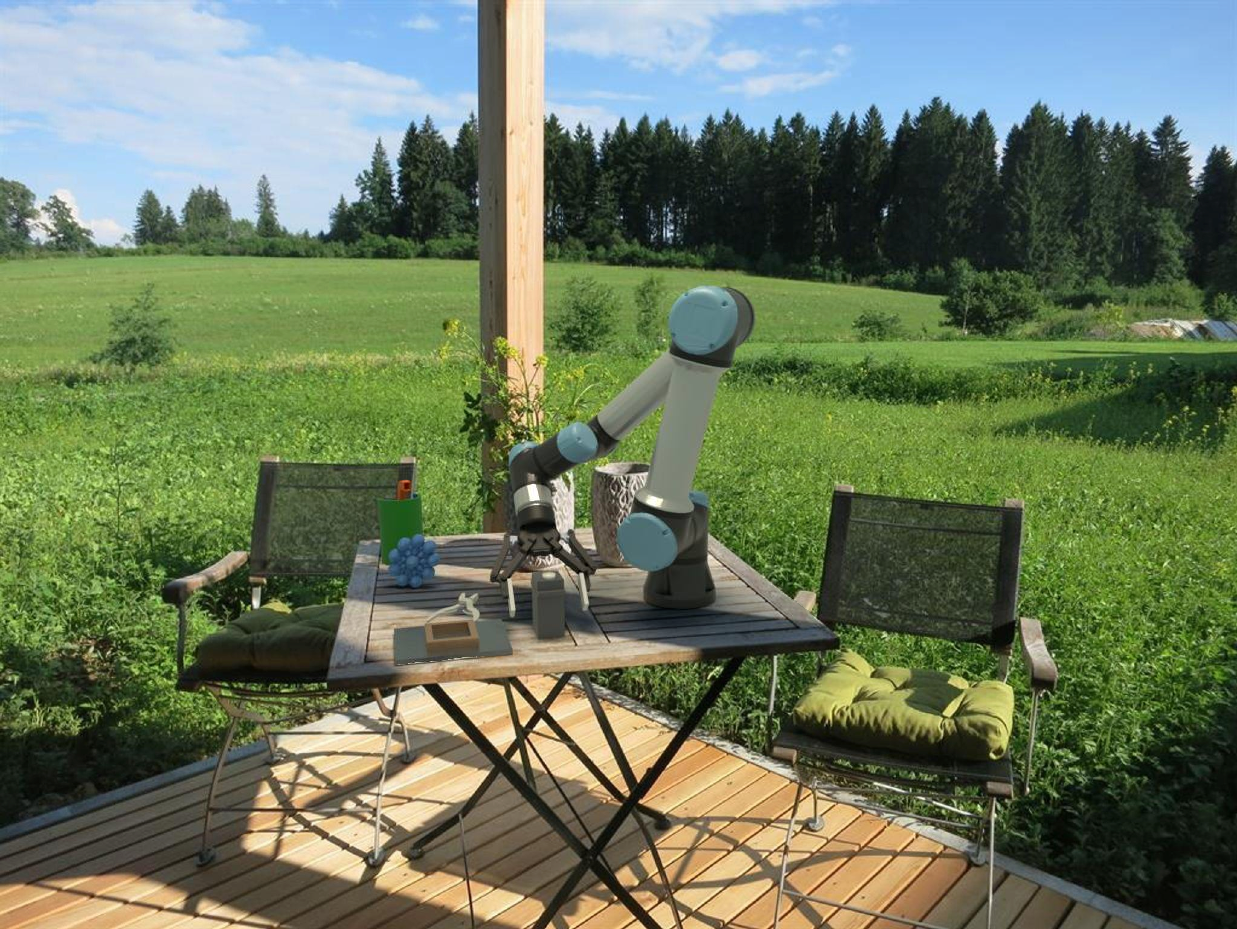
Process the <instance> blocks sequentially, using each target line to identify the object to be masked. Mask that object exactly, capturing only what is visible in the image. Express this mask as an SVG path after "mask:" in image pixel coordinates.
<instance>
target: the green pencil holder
mask: <svg viewBox="0 0 1237 929" xmlns="http://www.w3.org/2000/svg"><path fill="white" fill-rule="evenodd" d="M411 490H412V485H411V481H410V480H408V479H403V480H399V481H398V482H397V493H396V494H397V497H396V498H397V499H391V500H390V499H383V498H381V497H378V498H377V506H378V507H377V509H378V510H377V511H378V523H379V524H378V526H379V527H378V528H379V539H380V543H379V544H380V554H381V557H380V558H381V563H382V564H383V565H387V566H390V565H391V564H392V563H393V562H391V561H390V560H389V553H390V552H391V551H392V550H393V549H398V542H399V540H400V539H402V538H409V539H410V540H411V539H412V538H413V536H415V535H417V534H421V535H423V536H424V525H423V524H424V522H423V520H424V519H423V506H422V505H423V504H422V494H421V493H417V492H413V493H412V497H411V498H408V496H407V494H408V492H409V491H411Z"/></svg>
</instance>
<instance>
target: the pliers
mask: <svg viewBox="0 0 1237 929" xmlns="http://www.w3.org/2000/svg"><path fill="white" fill-rule="evenodd" d="M477 601H479V593H474V594H473V595H471V596H469V597H466V592H461V594H460V596H459V597H458V603H457V604H455V605H452V606H447V607H444V608H442V609H439V610H437V611H435V612H433V613H431V614H430V615H429V616H428V617H427V618H426V621H425V622H426V623H431V621H433V620H434V619H436V618H437V617H439V616H441V615H442V616H443V615H449V614H453V613H454V614H455V613H457V612H458V609H461V608H466V610H465V609H462V610H461V611H462V613H463V614H465V615H467V616H472V617H473V618H472V619H474V621H479V619H480V610H478V609H477V608H475V607H474V604H475V603H476V602H477Z"/></svg>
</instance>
